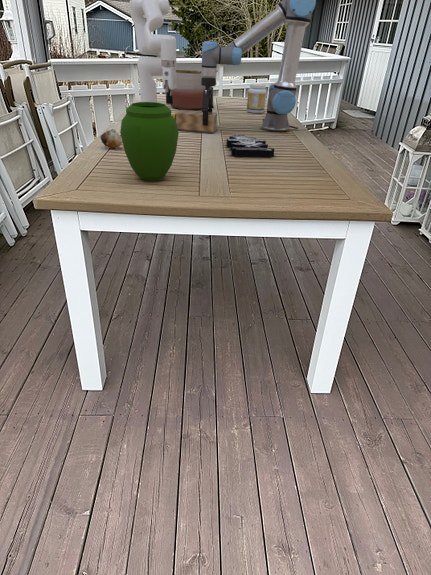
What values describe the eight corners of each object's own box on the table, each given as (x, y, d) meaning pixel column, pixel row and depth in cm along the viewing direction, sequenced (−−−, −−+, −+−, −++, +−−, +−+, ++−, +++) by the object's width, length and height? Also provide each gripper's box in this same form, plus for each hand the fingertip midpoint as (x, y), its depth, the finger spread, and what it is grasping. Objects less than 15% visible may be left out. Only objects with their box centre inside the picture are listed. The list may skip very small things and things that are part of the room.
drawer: (162, 127, 218) (161, 113, 215) (167, 124, 226) (167, 110, 223) (206, 131, 215) (207, 117, 211) (210, 127, 223) (210, 114, 219)
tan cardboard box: (176, 130, 217) (175, 112, 212) (181, 126, 226) (181, 109, 222) (212, 133, 215) (213, 115, 210) (216, 129, 224) (217, 112, 219)
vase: (131, 189, 135) (125, 110, 122) (118, 172, 150) (112, 100, 137) (186, 184, 142) (187, 109, 129) (169, 168, 157) (167, 99, 144)
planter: (201, 104, 296) (202, 70, 284) (212, 110, 276) (213, 73, 264) (166, 104, 289) (166, 69, 277) (175, 110, 268) (175, 73, 257)
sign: (232, 149, 174) (222, 134, 199) (232, 157, 176) (222, 140, 201) (276, 150, 177) (260, 135, 202) (275, 157, 179) (260, 141, 204)
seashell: (124, 147, 182) (123, 128, 178) (122, 150, 177) (120, 130, 173) (103, 146, 182) (101, 127, 178) (100, 149, 177) (98, 129, 173)
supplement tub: (247, 109, 285) (249, 83, 276) (264, 111, 283) (267, 84, 274) (245, 112, 274) (248, 84, 265) (264, 114, 273) (266, 86, 264)
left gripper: (172, 65, 199) (172, 106, 209) (179, 64, 212) (179, 102, 222) (157, 64, 200) (158, 105, 210) (165, 63, 213) (166, 101, 223)
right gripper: (211, 79, 196) (210, 128, 207) (220, 75, 215) (218, 120, 227) (196, 78, 197) (195, 126, 208) (206, 74, 216) (204, 118, 228)
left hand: (169, 103), depth 216 cm, fingers closed
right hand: (207, 123), depth 218 cm, fingers closed on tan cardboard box, 11 cm apart
